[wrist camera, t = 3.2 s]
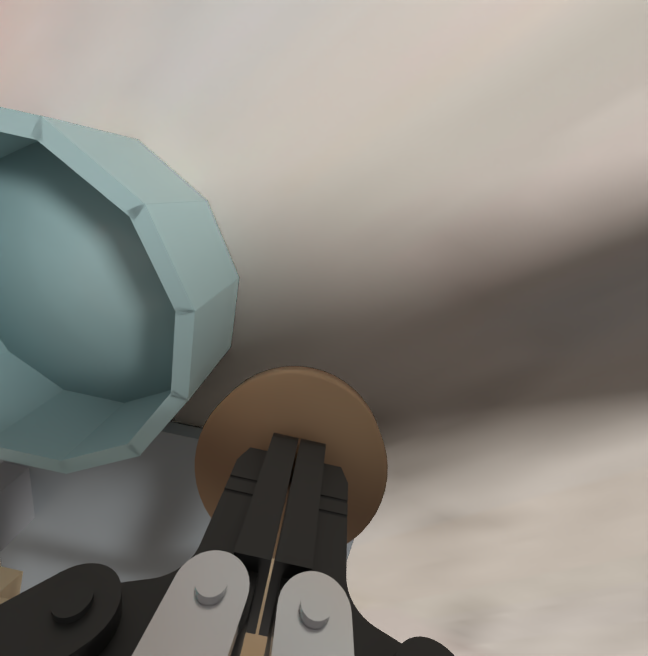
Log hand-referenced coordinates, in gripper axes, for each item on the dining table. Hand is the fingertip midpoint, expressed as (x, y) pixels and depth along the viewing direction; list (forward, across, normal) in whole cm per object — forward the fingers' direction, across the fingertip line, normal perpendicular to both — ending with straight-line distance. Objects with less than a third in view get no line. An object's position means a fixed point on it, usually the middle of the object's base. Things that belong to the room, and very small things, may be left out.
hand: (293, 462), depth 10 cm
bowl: (+7, +10, -1) cm, 12 cm away
